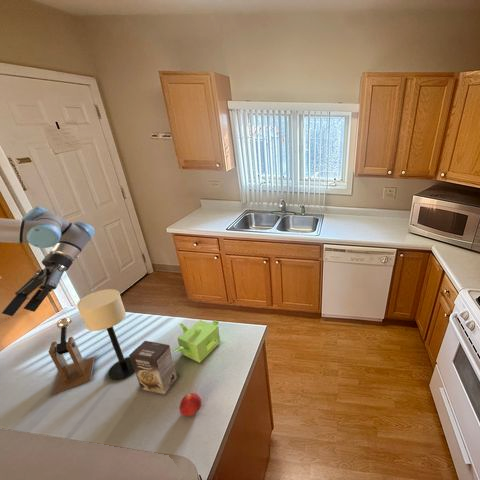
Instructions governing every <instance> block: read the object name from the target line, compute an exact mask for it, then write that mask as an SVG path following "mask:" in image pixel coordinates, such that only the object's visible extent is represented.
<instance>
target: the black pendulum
mask: <svg viewBox="0 0 480 480" xmlns="http://www.w3.org/2000/svg"><path fill="white" fill-rule="evenodd" d="M72 324H73V322H72V320H71V318H69V317H63V318H60V319H58V321H57V322H56V327H57V328H58V329H59V330H60V342H59V343H57V353H58V354H59V355H61V354H63V355H64V354H68V353H69V352H68V350H67V348H66V345H67V342H68V341H67V335H68V333H67V331H68V328H69V327H71V325H72Z"/></svg>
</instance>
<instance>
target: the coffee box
mask: <svg viewBox="0 0 480 480" xmlns="http://www.w3.org/2000/svg"><path fill="white" fill-rule="evenodd" d="M128 357H130V359H131V362H132V365H133V368H134V370H135V372H134V373H135V377H136V379H137V382H138V385H139V387H140V389H141V390H144V391H149V392H153V393H158V394H163V395H165V394H166V393H167V392H168V390H169V389H170V388H171V387H172V386H173V384H174V383H175V382H176V380H177V378H178V375H177V371H176V368H175V367H176V366H175V363H174V359H173V355H172V350H171V346H170V345H169V344H166V343H161V342H156V341H151V340H150V341H149V340H144V341H143V342H142V343H140V344H139V345H138V346H137V347H136V348H134V350H133V351H132V352H131V353H130V354H129V356H128Z"/></svg>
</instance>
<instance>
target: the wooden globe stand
mask: <svg viewBox="0 0 480 480" xmlns="http://www.w3.org/2000/svg"><path fill="white" fill-rule="evenodd" d="M66 342H67V345H66V348H67V350H68V352H67V353H68V355H69V356H70V358H71V360H72V362H73V363H71V364H68V362H67V360H66V358H65V356H64V354H61V355H59V354H58V353H57V344H58V342H57V341H56V340H55V341H52V342H51V344H50V347H49V348H48V354H49V356H50V358H51V360H52V362H53V363H54V366H55V367H56V370H57V371H58V373H59V374H58V377H57V380H56V383H55V386H54V390H53V393H52V394H53V395H54V394H58V393H60V392H63V391H65V390H68V389H72V388H74V387H77V386H79V385H82V384H85V383H88V382H91V380H92V376H93V370H94V365H95V359H96V357H95V356H92V357H89V358H86V359H84V358H83V356H82V354H81V352H80V349H79V347H78V345H77V343H76V341H75V338H74V336H69V337H68V339H67V341H66Z"/></svg>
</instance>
